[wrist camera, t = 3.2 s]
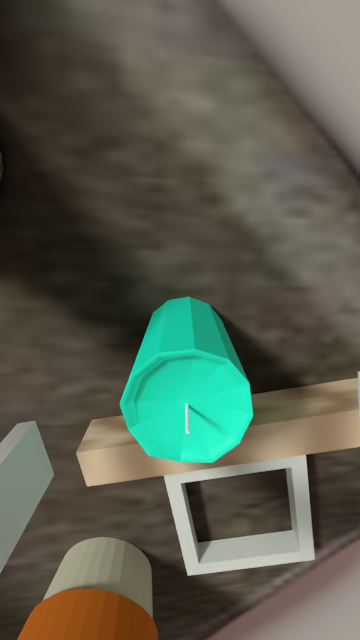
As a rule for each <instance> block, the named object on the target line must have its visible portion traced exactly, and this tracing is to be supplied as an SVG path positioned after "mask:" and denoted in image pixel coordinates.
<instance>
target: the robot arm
mask: <svg viewBox="0 0 360 640" xmlns="http://www.w3.org/2000/svg"><path fill="white" fill-rule="evenodd" d="M358 397H359V432H360V372H358ZM53 476H54V473H53V470H52V467H51V464H50V461H49V459H48V456H47V453H46V450H45V447H44V445H43V442H42V439H41V436H40V433H39V431H38V428H37V425H36V422H35V421H31V422H24V423H18V424H17V425H16V426H15V427H14V428H13V429H12V431H11V432H10V433H9V434H8V435H7V436H6V437H5V438H4V440H3V441H2V442H1V443H0V573H1V571H2V569H3V568H4V566H5V564H6V562H7V560H8V558H9V557H10V555H11V553H12V551H13V549H14V547H15V546H16V544H17V542H18V540H19V538H20V536H21V535H22V533H23V531H24V529H25V527H26V525H27V524H28V522H29V520H30V518H31V516H32V514H33V513H34V511H35V509H36V507H37V505H38V503H39V502H40V500H41V498H42V496H43V494H44V492H45V491H46V489H47V487H48V485H49V483H50V481H51V480H52V478H53Z"/></svg>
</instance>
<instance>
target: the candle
mask: <svg viewBox="0 0 360 640" xmlns="http://www.w3.org/2000/svg"><path fill="white" fill-rule="evenodd" d="M120 407H121V410H122V413H123V416H124V419H125V422H126V425H127V428H128V430H129V431H130V432H131V434H132V435H133V436H134V437H135V439H136V440H137V441H138V443H139V444H140V445H141V446H142V448H143V449H144V450H145V452H146V453H147V454H148V455H149V456H152V457H157V458H162V459H167V460H172V461H177V462H200V463H213V462H215V461H216V460H217V459H219V458H220V457H222V456H223V455H224V454H226V453H227V452H228V451H230V450H231V449H233V448H234V447H235V446H237V445H238V444H239V443H240V441H241V439H242V437H243V435H244V433H245V431H246V429H247V427H248V425H249V423H250V421H251V419H252V417H253V408H252V400H251V392H250V384H249V381H248V379H247V377H246V374H245V372H244V370H243V368H242V365H241V363H240V361H239V359H238V356H237V354H236V352H235V350H234V347H233V345H232V343H231V340H230V338H229V336H228V334H227V331H226V329H225V327H224V325H223V322H222V320H221V319H220V317H219V316H218V315H217V314H216V312H215V311H214V310H213V309H212V307H211V306H210V305H209V304H207V303H204V302H202V301H199V300H197V299H194V298H191V297H185V298H178V299H172V300H168V301H167V302H166V303H164V304H163V305H162V306H161V307H159V308H158V309H157V310H156V311H154V312H153V314H152V317H151V319H150V322H149V325H148V327H147V330H146V333H145V336H144V338H143V341H142V344H141V347H140V349H139V352H138V355H137V358H136V360H135V363H134V366H133V368H132V371H131V374H130V377H129V379H128V382H127V385H126V388H125V390H124V393H123V396H122V399H121V401H120Z"/></svg>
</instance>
